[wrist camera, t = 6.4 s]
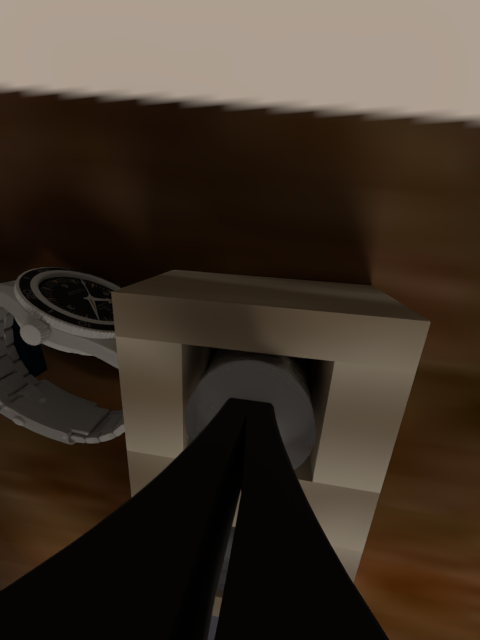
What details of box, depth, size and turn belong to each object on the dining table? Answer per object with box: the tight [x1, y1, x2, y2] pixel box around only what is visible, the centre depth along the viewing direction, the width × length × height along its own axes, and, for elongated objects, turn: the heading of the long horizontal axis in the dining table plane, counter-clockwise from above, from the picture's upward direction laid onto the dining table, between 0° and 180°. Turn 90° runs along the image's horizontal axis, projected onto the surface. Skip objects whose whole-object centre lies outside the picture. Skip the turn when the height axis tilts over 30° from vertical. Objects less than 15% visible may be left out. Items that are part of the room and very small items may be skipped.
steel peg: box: [185, 348, 316, 470], centre depth 11 cm, size 4×4×5 cm
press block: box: [111, 270, 431, 617], centre depth 12 cm, size 15×9×5 cm, turn 177°
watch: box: [0, 267, 125, 445], centre depth 12 cm, size 6×8×11 cm
